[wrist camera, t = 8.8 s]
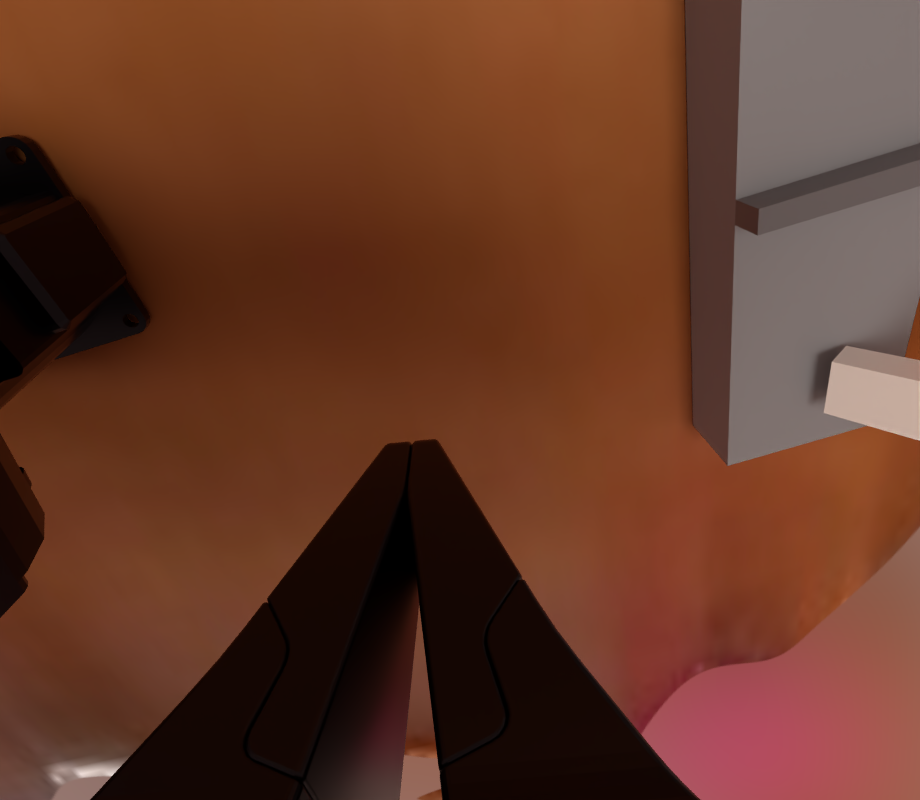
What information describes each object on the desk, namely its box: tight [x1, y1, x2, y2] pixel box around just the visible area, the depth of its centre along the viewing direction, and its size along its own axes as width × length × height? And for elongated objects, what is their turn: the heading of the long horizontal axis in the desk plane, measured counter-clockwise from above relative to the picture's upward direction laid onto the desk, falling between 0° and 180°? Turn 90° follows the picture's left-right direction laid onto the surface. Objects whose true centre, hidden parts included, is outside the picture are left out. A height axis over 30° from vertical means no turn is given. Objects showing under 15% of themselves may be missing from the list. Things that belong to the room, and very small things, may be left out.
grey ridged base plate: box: [685, 0, 920, 466], centre depth 17 cm, size 7×22×4 cm, turn 16°
